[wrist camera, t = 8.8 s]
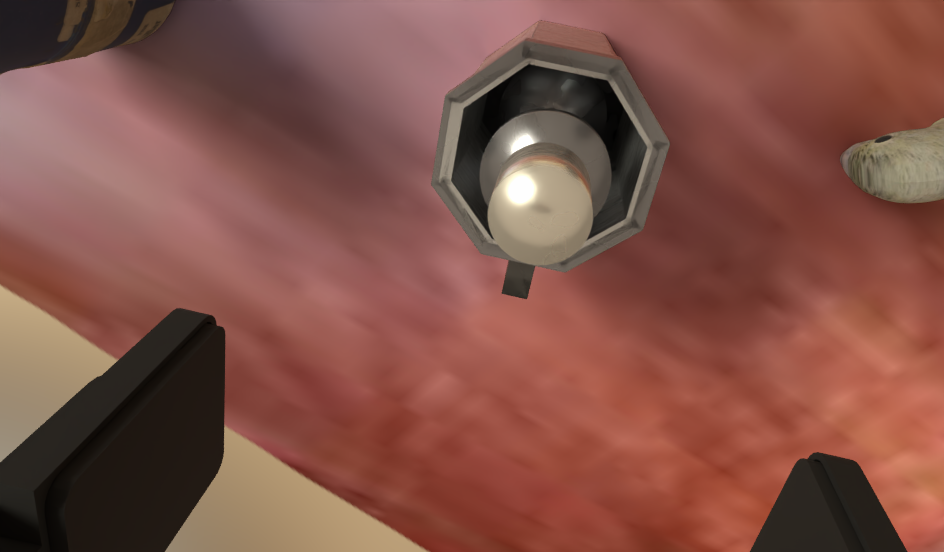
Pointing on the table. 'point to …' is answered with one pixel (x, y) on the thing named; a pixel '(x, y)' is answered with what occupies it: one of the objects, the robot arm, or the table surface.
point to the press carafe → (625, 136)
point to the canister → (72, 28)
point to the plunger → (546, 165)
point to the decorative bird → (900, 165)
